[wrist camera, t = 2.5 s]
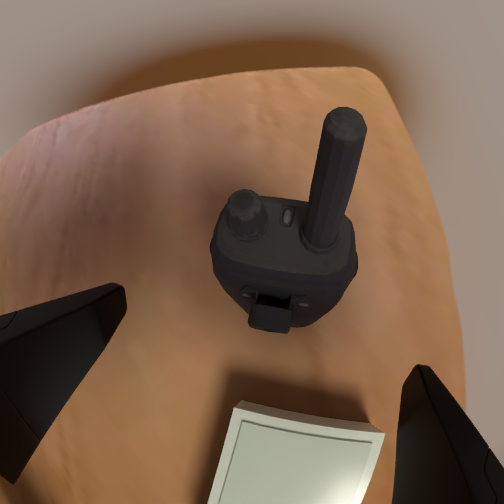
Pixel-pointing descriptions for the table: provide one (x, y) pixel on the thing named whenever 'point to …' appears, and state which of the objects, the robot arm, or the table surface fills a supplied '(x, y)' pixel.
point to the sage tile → (294, 458)
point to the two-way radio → (294, 238)
